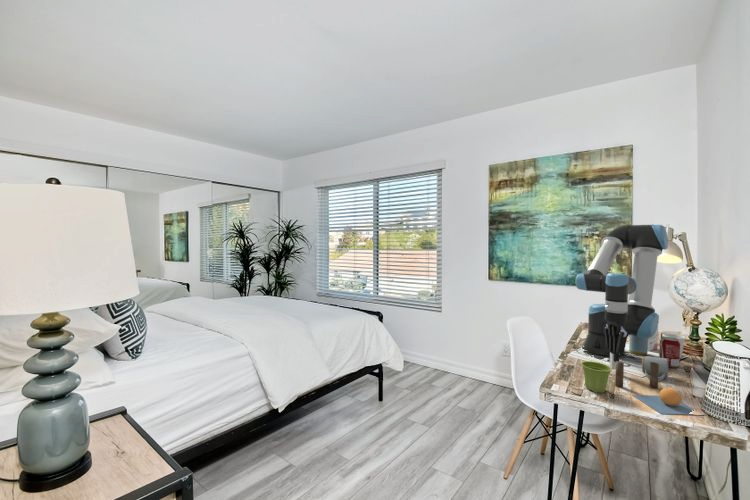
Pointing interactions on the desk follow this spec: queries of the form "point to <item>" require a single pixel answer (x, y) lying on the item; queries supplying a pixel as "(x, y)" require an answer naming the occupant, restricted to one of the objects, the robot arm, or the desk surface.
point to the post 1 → (619, 374)
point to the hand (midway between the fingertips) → (614, 368)
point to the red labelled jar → (670, 351)
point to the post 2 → (654, 375)
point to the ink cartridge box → (653, 341)
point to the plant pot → (596, 375)
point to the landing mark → (664, 405)
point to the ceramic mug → (662, 366)
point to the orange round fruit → (670, 397)
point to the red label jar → (680, 340)
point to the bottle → (638, 345)
